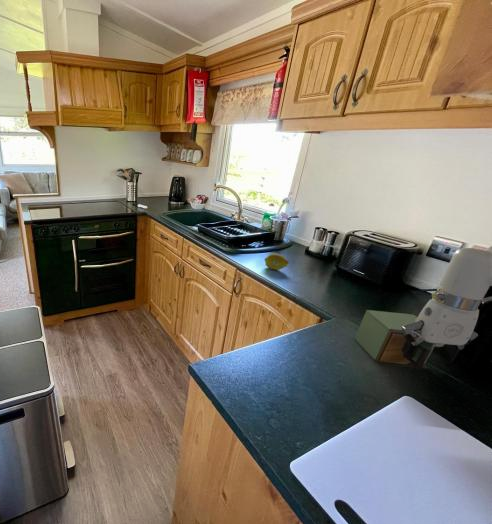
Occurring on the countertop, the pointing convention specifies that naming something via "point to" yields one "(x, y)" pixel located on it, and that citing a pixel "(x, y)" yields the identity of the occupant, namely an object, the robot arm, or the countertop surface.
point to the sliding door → (397, 356)
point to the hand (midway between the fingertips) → (426, 356)
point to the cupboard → (385, 334)
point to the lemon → (276, 261)
